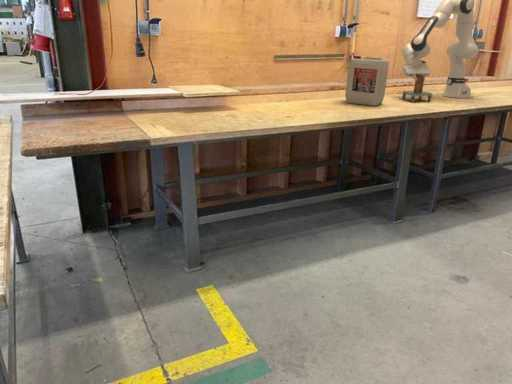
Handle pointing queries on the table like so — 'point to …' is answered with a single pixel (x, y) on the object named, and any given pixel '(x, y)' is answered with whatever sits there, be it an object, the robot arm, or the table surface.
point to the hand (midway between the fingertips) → (420, 80)
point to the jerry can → (366, 80)
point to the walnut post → (419, 83)
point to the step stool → (417, 95)
